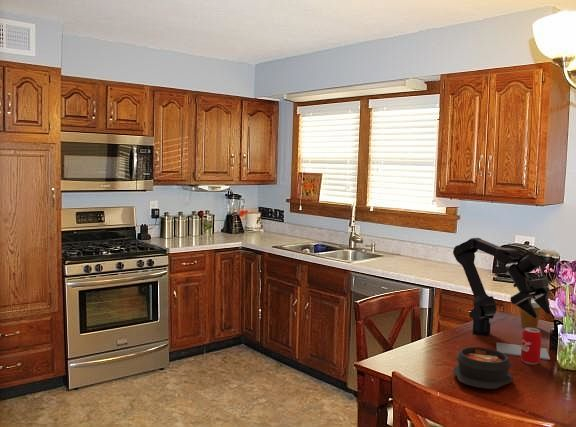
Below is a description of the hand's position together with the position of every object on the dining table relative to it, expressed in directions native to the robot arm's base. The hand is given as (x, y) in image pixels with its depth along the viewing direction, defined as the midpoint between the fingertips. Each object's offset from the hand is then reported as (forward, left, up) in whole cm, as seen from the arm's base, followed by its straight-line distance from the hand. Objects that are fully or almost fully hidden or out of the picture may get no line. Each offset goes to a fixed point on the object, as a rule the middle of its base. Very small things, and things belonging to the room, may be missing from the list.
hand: (542, 315), depth 202 cm
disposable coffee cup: (-1, +36, -15) cm, 39 cm away
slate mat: (-6, -1, -15) cm, 16 cm away
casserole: (-20, -36, -15) cm, 44 cm away
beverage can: (-4, -12, -15) cm, 20 cm away
